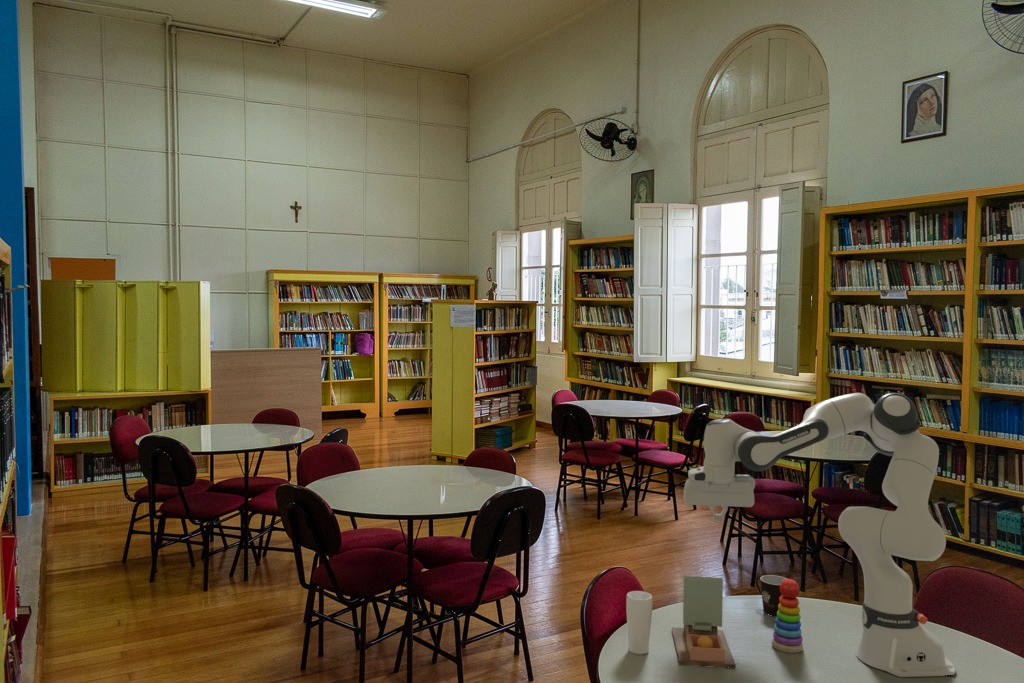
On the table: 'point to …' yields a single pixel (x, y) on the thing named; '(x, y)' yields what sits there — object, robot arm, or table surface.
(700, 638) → the orange rubber ball
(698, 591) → the pale green panel
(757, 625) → the table surface
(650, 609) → the drinking glass
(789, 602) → the stacking toy
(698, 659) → the terracotta cup
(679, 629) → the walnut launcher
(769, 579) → the coffee mug
